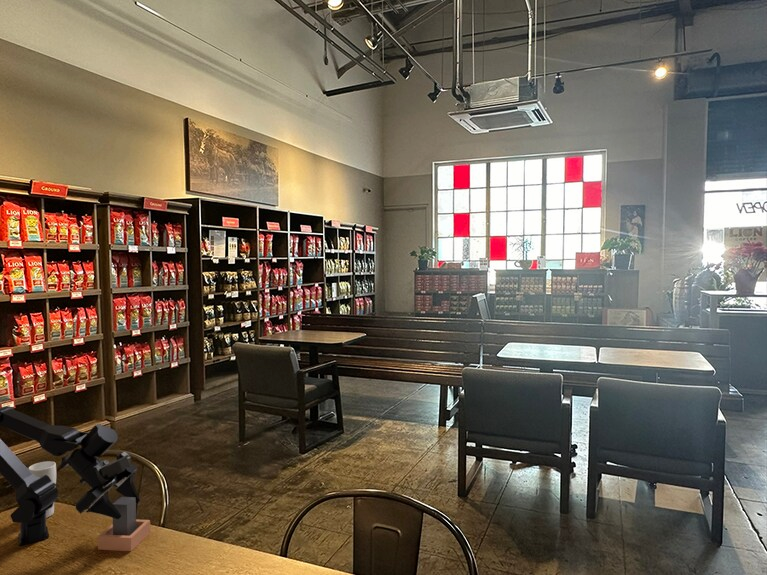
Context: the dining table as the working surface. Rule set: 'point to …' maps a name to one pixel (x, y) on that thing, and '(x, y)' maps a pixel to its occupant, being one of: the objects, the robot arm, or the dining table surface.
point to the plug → (125, 516)
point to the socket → (123, 537)
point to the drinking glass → (45, 469)
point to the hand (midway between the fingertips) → (129, 509)
